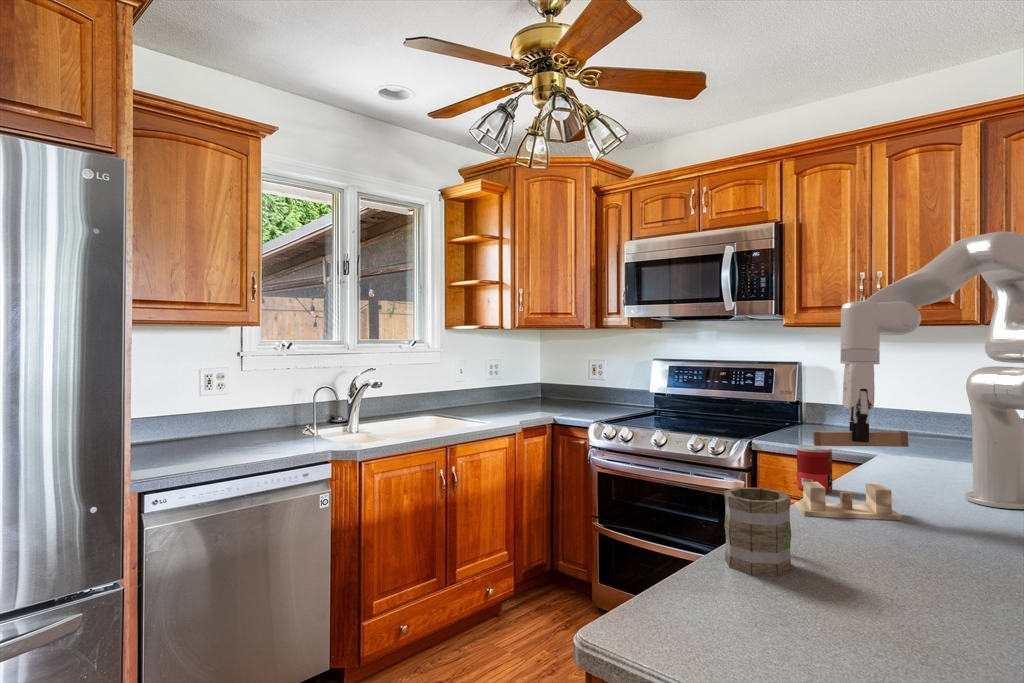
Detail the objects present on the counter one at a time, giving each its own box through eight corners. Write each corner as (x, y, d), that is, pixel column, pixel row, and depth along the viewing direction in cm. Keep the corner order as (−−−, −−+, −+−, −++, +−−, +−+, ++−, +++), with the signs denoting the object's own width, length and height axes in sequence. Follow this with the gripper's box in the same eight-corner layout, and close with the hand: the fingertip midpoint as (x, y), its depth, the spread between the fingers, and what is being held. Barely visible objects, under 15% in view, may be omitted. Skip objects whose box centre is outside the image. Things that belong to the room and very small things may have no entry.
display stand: (886, 510, 135) (886, 483, 135) (901, 520, 127) (901, 491, 127) (795, 506, 139) (795, 480, 139) (804, 515, 131) (804, 488, 132)
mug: (787, 581, 96) (786, 506, 96) (717, 569, 101) (716, 497, 101) (799, 552, 109) (798, 485, 109) (737, 542, 115) (736, 479, 115)
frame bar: (814, 445, 135) (814, 432, 135) (813, 444, 138) (812, 430, 138) (908, 446, 129) (907, 432, 129) (905, 444, 131) (904, 430, 131)
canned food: (836, 494, 150) (836, 450, 150) (802, 493, 151) (801, 449, 151) (827, 487, 157) (826, 445, 157) (794, 486, 159) (793, 444, 159)
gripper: (835, 356, 142) (834, 435, 142) (846, 357, 127) (845, 444, 127) (871, 357, 140) (871, 437, 139) (887, 358, 125) (886, 447, 124)
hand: (859, 440), depth 133 cm, fingers closed on frame bar, 2 cm apart
